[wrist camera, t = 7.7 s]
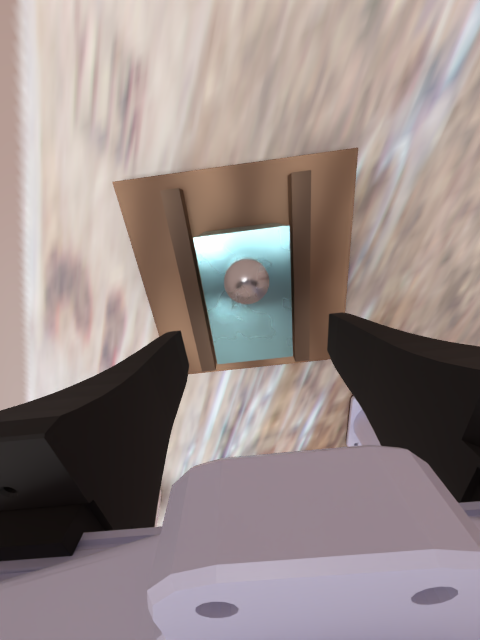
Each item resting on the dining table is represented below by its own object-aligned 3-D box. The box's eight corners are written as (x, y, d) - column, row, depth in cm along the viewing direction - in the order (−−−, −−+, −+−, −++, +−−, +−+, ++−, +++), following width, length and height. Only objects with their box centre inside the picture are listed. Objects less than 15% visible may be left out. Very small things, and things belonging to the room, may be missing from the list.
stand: (347, 153, 16) (368, 141, 13) (335, 349, 22) (347, 365, 20) (122, 184, 16) (102, 179, 14) (175, 366, 23) (168, 384, 21)
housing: (279, 323, 20) (295, 363, 14) (221, 329, 20) (216, 371, 14) (274, 222, 16) (293, 226, 11) (205, 231, 16) (190, 239, 11)
